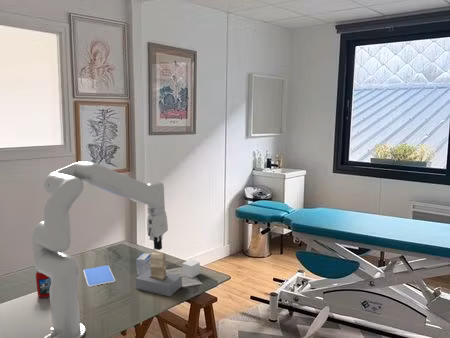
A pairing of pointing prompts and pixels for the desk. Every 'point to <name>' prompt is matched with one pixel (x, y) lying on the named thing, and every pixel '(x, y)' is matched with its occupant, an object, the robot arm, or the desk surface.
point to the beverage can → (43, 284)
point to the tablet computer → (98, 276)
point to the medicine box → (143, 263)
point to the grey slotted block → (159, 283)
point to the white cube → (191, 268)
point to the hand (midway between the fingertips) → (158, 248)
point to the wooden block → (158, 265)
